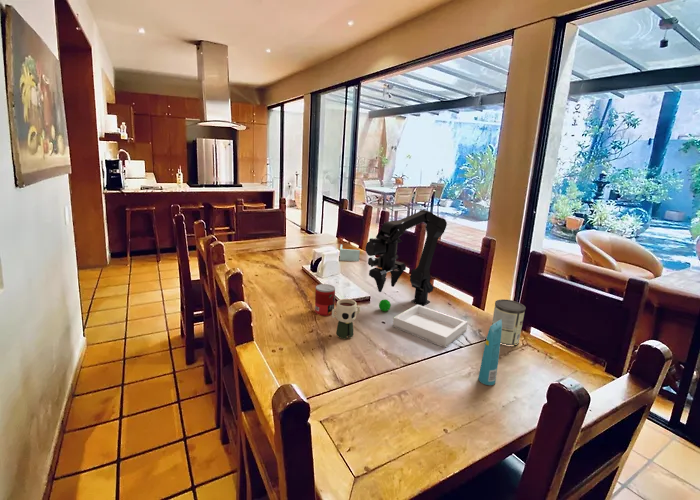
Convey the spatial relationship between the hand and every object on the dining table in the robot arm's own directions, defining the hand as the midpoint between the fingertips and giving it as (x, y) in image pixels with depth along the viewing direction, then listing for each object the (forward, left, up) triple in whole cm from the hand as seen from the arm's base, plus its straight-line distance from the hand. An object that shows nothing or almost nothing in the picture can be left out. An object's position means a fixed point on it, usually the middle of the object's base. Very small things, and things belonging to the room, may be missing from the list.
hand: (386, 289), depth 155 cm
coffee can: (-12, +46, -10) cm, 49 cm away
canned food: (+20, -16, -10) cm, 28 cm away
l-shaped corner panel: (-49, -61, -10) cm, 79 cm away
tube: (+19, +51, -10) cm, 55 cm away
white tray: (+1, +22, -10) cm, 24 cm away
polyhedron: (0, 0, -10) cm, 10 cm away
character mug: (+29, +3, -10) cm, 31 cm away
